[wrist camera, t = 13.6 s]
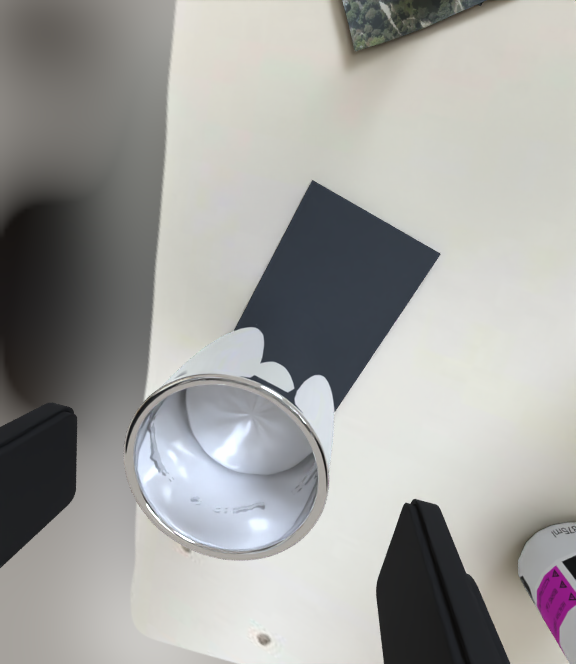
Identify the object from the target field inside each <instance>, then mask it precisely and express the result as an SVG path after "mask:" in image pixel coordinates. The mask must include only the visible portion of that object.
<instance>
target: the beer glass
mask: <svg viewBox="0 0 576 664" xmlns="http://www.w3.org/2000/svg"><path fill="white" fill-rule="evenodd" d="M325 352H326V340H325V336H324V333H323V330H322V328H321V326H320V325H319V323H318V322H317V321H316V320H315V319H314V318H313V317H312V316H311V315H310V314H309V313H307V312H305V311H304V310H301V309H299V308H296V307H291V306H278V307H274V308H271V309H268V310H266V311H264V312H263V313H261V314H260V315H259V316H258V317H257V318H256V319H255V320H254V321H253V323H252V324H251V326H249V327H245V328H241V329H239V330H236V331H233V332H230V333H228V334H225V335H223V336H221V337H220V338H218V339H217V340H215V341H213V342H212V343H210V344H208V345H207V346H205V347H204V348H203V349H201V350H200V351H199V352H198V353H196V354H195V355H194V356H193V357H192V358H190V359H189V360H188V361H187V362H186V363H185V364H183V365H182V366H181V367H180V368H179V369H178V370H177V371H176V372H175V373H174V374H173V375H172V376H171V377H170V378H169V379H168V380H167V381H166V382H165V383H164V384H163V385H162V386H161V387H160V388H159V389H158V390H157V391H155V392H154V393H153V394H151V395H150V396H149V397H148V398H147V399H146V400H145V401H144V402H143V403H142V405H141V406H140V407H139V408H138V410H137V411H136V413H135V415H134V416H133V418H132V420H131V422H130V425H129V427H128V430H127V434H126V437H125V443H124V465H125V472H126V476H127V480H128V483H129V486H130V488H131V491H132V493H133V495H134V497H135V499H136V501H137V503H138V504H139V506H140V507H141V509H142V510H143V512H144V513H145V514H146V515H147V517H148V518H149V519H150V520H151V521H152V522H153V523H154V524H155V525H156V526H157V527H158V528H159V529H160V530H161V531H162V532H163V533H165V534H166V535H167V536H169V537H170V538H171V539H173V540H174V541H176V542H178V543H179V544H181V545H183V546H185V547H187V548H189V549H191V550H193V551H195V552H198V553H200V554H203V555H207V556H210V557H214V558H219V559H225V560H239V561H242V560H255V559H261V558H266V557H269V556H272V555H275V554H278V553H280V552H282V551H284V550H286V549H288V548H290V547H292V546H293V545H295V544H296V543H298V542H299V541H300V540H301V539H302V538H304V537H305V536H306V535H307V534H308V533H309V532H310V531H311V529H312V528H313V527H314V525H315V524H316V523H317V521H318V519H319V518H320V516H321V514H322V512H323V509H324V506H325V504H326V500H327V496H328V490H329V469H330V462H331V455H332V446H333V437H334V403H333V393H332V387H331V383H330V380H329V377H328V374H327V371H326V368H325V366H324V363H323V360H324V357H325Z"/></svg>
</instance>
